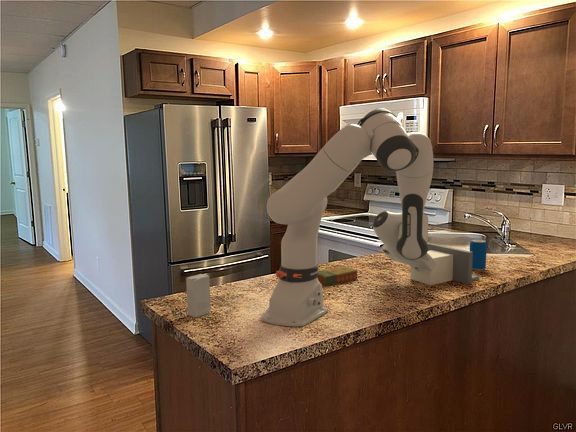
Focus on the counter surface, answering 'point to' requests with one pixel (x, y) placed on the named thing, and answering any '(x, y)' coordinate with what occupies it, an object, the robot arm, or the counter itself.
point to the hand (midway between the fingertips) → (419, 269)
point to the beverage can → (478, 254)
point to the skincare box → (198, 295)
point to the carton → (336, 275)
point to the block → (435, 269)
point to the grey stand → (458, 263)
